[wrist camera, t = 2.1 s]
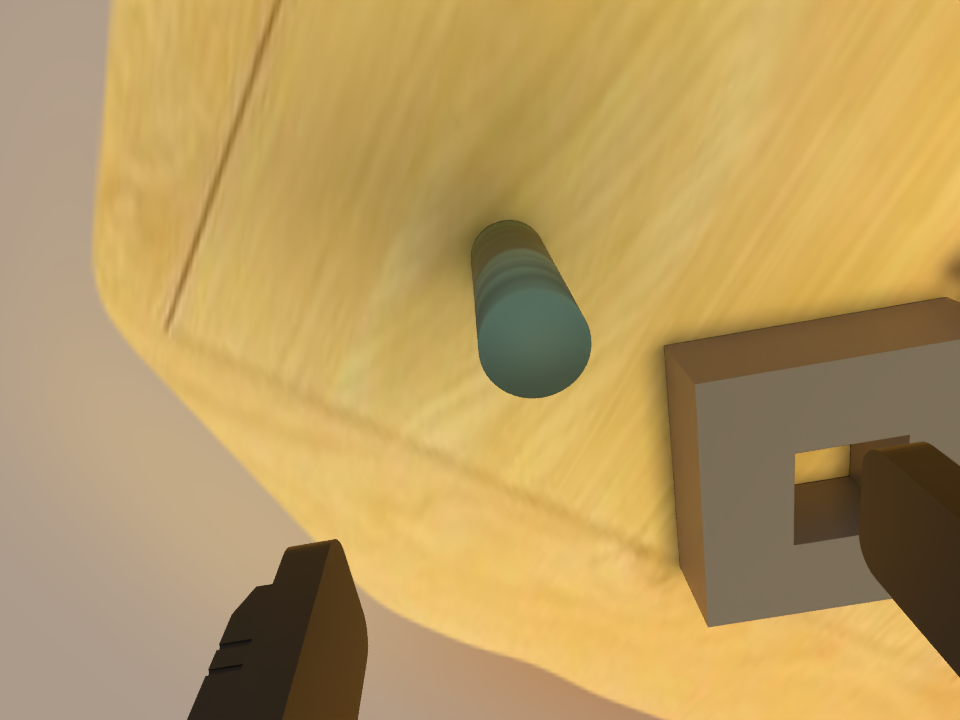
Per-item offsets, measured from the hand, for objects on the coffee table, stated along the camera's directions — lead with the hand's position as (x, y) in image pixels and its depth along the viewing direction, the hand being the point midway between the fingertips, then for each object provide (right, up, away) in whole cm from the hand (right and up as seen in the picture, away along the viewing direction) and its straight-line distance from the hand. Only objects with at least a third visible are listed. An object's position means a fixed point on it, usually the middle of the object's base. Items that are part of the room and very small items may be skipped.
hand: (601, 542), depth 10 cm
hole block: (+13, -1, +20) cm, 24 cm away
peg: (-1, +7, +17) cm, 18 cm away
